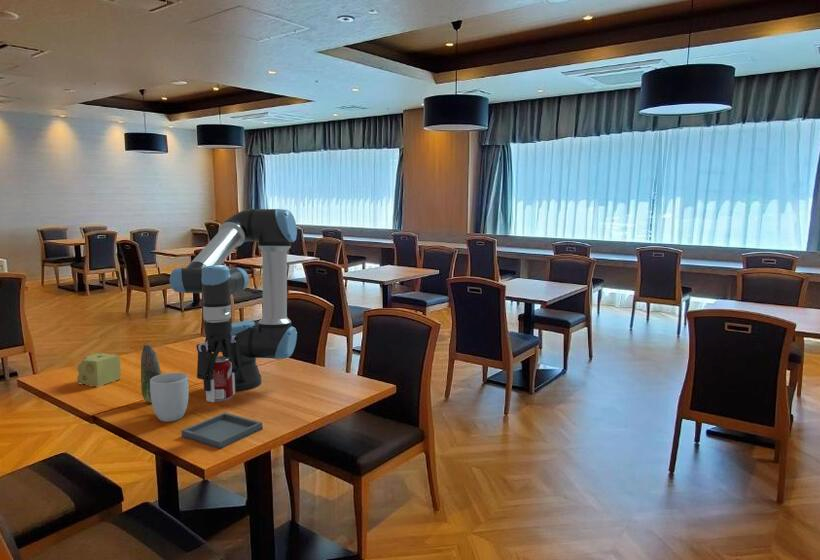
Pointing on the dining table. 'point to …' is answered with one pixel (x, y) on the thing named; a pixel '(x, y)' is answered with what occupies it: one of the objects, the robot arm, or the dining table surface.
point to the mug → (169, 395)
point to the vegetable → (148, 370)
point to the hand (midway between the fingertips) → (221, 397)
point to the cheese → (99, 369)
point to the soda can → (222, 379)
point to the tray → (222, 430)
